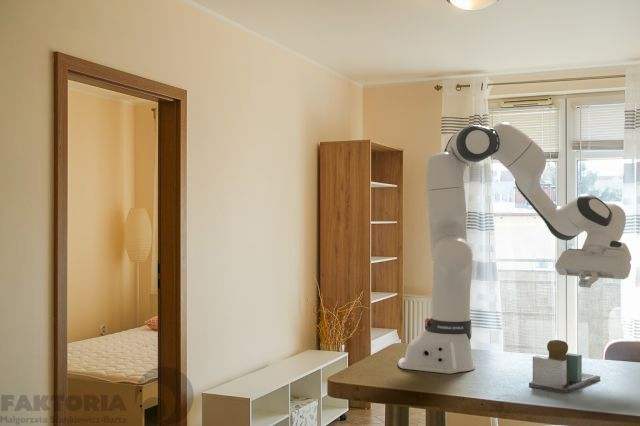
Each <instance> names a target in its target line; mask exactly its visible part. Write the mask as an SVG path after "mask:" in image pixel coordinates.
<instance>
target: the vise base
mask: <svg viewBox="0 0 640 426" xmlns="http://www.w3.org/2000/svg"><path fill="white" fill-rule="evenodd" d="M566 363H567V360H562V359H556V358H550V357H549V356H543V355H533V356H532V381H530V382H528V387H530V388H534V389H535V388H536V389H538V390H539V389H540V390H544V391H549V392H554V393H559V394H564V395H567V394H569V393H571V392H574V391H576V390H579V389H581V388H584V387H587V386H588V385H591V384H593V383H596V382H598V381H601V376H600V375H597V374H588V373H585V372H584V373H583V372H582V380H581V381H579V382H572V381H569V382H570V384H568V385H566Z"/></svg>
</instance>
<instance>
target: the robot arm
mask: <svg viewBox="0 0 640 426" xmlns="http://www.w3.org/2000/svg"><path fill="white" fill-rule="evenodd" d="M489 157H491V158H494V159H496V160H497V161H499V162H500V164H501V165H502V166H503V167H505V168H506V169H507V170H508V172H509V173H510V174H511V175H512V176H513V178H514V184H515V186H516V188H517V190H518V192H519V193H520V194H521V196H522V197H523V198H524V199H525V200H526V201H527V203H528V204H529V205H530V206H531V208H532V209H533V210H534V211H535V213H537V215H538V216H539V218H541V220H542V221H543V222H544V224H545V225H546V227H547V228H548V230H549V232H550V233H551V234H552V235H553V236H554V237H555V238H557V239H558V240H561V241H571V240H573V239H575V237H577V236H579V235H580V234H581V233H584V232H585V233H586V238H585V240H584V242H583V245H582V247H581V248H568V249H566V250H562V252H561V255H560V256H559V257H558V258H557V261H556V263H555V265H554V267H555V270H556V272H557V274H558V275H559V276H570V277H579V281H578V286H579V287H580V288H591V287H592V286H593V285H592V284H594V283H596V281H598V280H599V279H600V278H601V279H613V280H614V279H615V280H625V279H627V278H628V277H629V275H630V274H631V268H632V265H631V261H632V254H631V252H630V249H629V248H628V245H627V244H626V243H625V242H622V241H620V240H621V239H622V236H623V234H624V232H625V227H626V224H627V223H626V222H627V216H626V213H625V210H624V209H622V207H621V206H619V205H617V204H615V203H611V202H610V203H609V202H608V203H606V202H604V201H602V200H601V198H599V197H597V196H595V195H593V194H589V193H582V194H581V195H579V196H577V197H575V198H574V199H572V200H571V201H569V202H568V203H566V204H564V205H562V206H560V205H557V204H556V203H555V202H554V201H553V199H552V198H550V196H549V195H548V194H547V193H546V192H545V190H544V189H543V188H542V186H541V183H540V182H541V181H540V180H541V177H542V175H543V173H544V171H545V169H546V166H547V156H546V153H545V152H544V150H543V149H542V148H541V146H540V145H538V143H536V142H535V141H534V140H533V139H532V138H531V137H529V136H528V135H527V134H526V132H523V131H522V130H521V129H519V128H517V126H515V125H513V124H511V123H510V122H506V121H504V122H503V121H502V122H499V123H497V124H495V125H493V126H492V127H487V126H483V125H478V124H472V125H467V126H465V127H463V128H461V129H459V130H457V131H456V132H455V133H454V134H453V135H452V136H451V137H450V138H449V139H448V142H447V143H446V146H445V149H444V151H440V152H436V153H434V154H433V155H431V156H430V157H429V158H428V160H427V165H426V166H427V167H426V173H425V174H426V184H425V185H426V198H427V208H428V220H429V221H428V222H429V224H428V225H429V241H430V243H429V244H430V255H431V259H432V262H433V269H432V272H433V274H432V275H433V277H432V289H431V294H432V295H431V317H426V318H425V319H424V329H425V330H424V331H423V332H421V333H420V334H419V335H417V336H416V337H415V338H414V339H412V340H411V341H410V342H409V343H408V345H407V347H406V351H405V356H404V357H401V358H400V359H398V362H397V363H398V364H397V365H398V368H401V369H405V370H413V371H414V370H415V371H421V372H431V373H440V374H441V373H442V374H451V375H452V374H455V373H461V372H468V371H472V370H475V368H476V365H475V362H474V358H473V352H472V343H471V339H472V334H473V333H472V332H473V331H472V330H473V328H472V326H473V325H472V319H471V311H470V310H471V306H470V305H471V286H472V273H473V255H474V253H473V250H472V247H471V245H470V244H469V242H468V240H467V236H468V235H467V203H466V202H467V200H466V192H465V184H464V183H465V182H464V173H465V168H466V167H468V166H470V165H475V164H477V163H480V162H482V161H484V160H486V159H487V158H489ZM586 278H588V279H586Z"/></svg>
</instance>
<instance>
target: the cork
mask: <svg viewBox="0 0 640 426" xmlns="http://www.w3.org/2000/svg"><path fill="white" fill-rule="evenodd" d="M546 347H547V348H546V349H547V351H548V357H550V358H556V359H562V360H567V359H566V353H568V350H569V345H568V343H567V342H566V341H565V340H559V339H552V340H549V341H548V343H547V345H546ZM568 384H570V382H569V375H568V367H567V363H566V385H568Z"/></svg>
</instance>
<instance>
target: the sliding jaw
mask: <svg viewBox="0 0 640 426" xmlns="http://www.w3.org/2000/svg"><path fill="white" fill-rule="evenodd" d="M566 359H567V367H568V375H569V381H572V382H579V381H581V380H582V373H583V372H582V371H583V366H582V365H583V364H582V362H583V360H582V359H583V357H582V354H579V353H578V354H577V353H570V352H567V353H566Z"/></svg>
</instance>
